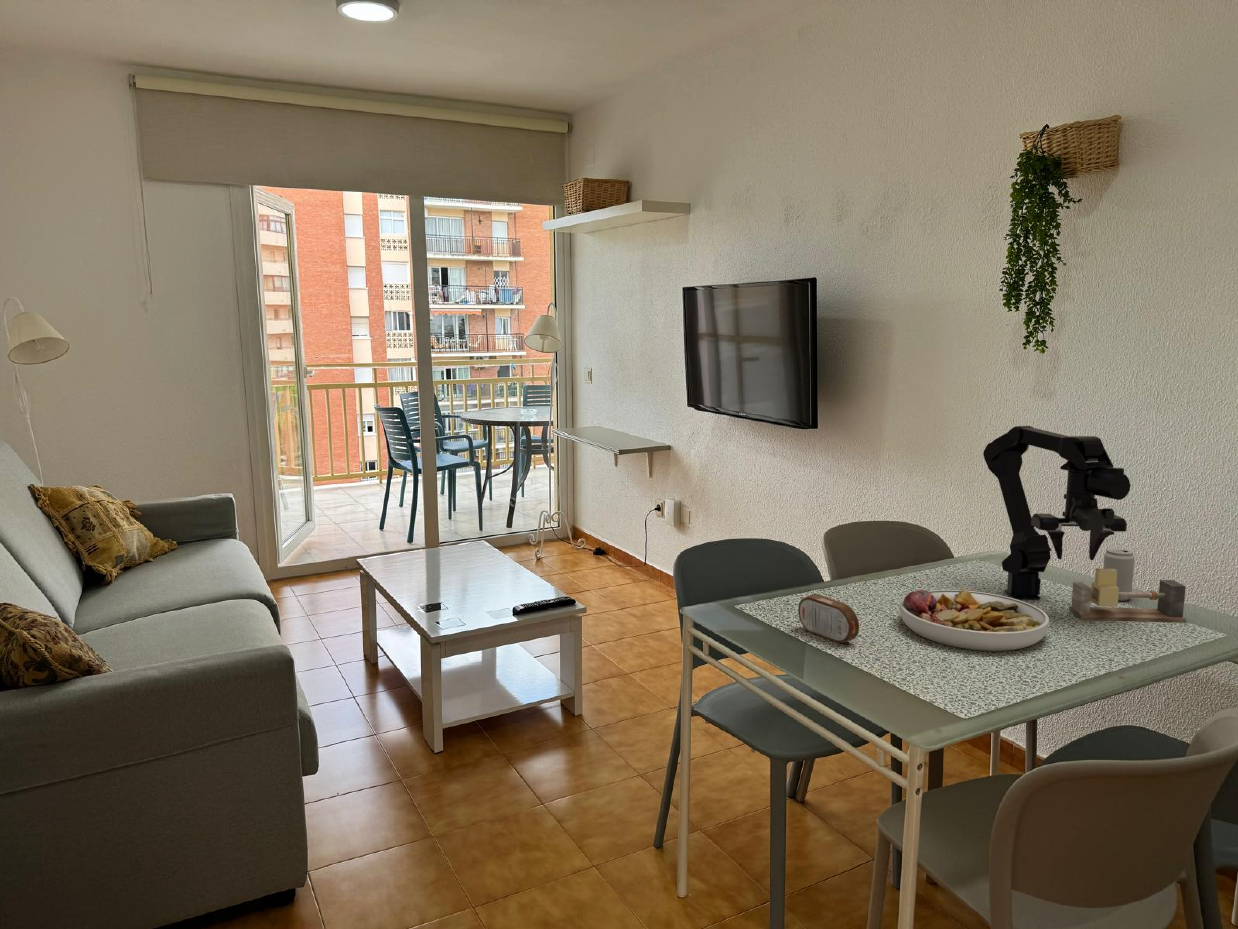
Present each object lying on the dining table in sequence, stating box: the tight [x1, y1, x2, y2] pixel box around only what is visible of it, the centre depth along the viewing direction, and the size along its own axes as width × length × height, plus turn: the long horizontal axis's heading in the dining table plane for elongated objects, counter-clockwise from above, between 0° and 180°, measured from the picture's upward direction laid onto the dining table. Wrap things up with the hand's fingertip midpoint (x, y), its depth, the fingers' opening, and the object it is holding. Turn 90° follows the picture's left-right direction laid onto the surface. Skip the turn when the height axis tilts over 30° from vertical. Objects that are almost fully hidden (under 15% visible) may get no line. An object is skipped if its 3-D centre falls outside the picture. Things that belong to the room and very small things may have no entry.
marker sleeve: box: [1090, 568, 1119, 608], centre depth 199 cm, size 4×4×8 cm
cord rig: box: [1068, 579, 1187, 623], centre depth 199 cm, size 22×7×8 cm, turn 85°
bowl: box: [899, 589, 1050, 652], centre depth 189 cm, size 30×30×8 cm
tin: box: [797, 593, 860, 644], centre depth 185 cm, size 15×3×8 cm, turn 35°
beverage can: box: [1102, 547, 1135, 602], centre depth 212 cm, size 6×6×12 cm
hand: (1075, 559), depth 198 cm, fingers open, 7 cm apart
